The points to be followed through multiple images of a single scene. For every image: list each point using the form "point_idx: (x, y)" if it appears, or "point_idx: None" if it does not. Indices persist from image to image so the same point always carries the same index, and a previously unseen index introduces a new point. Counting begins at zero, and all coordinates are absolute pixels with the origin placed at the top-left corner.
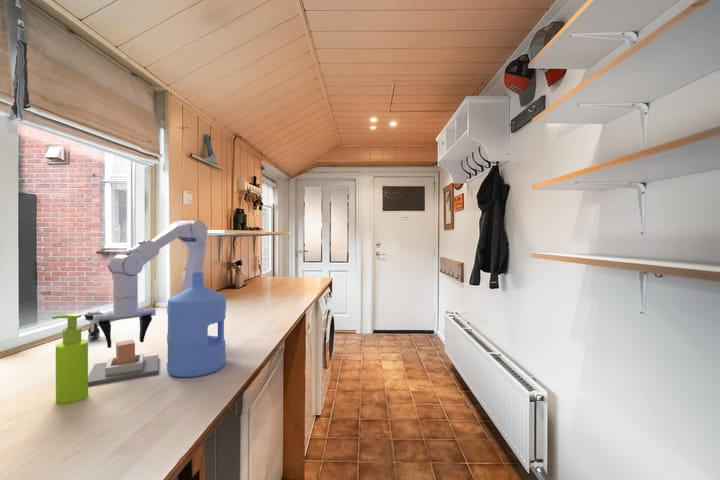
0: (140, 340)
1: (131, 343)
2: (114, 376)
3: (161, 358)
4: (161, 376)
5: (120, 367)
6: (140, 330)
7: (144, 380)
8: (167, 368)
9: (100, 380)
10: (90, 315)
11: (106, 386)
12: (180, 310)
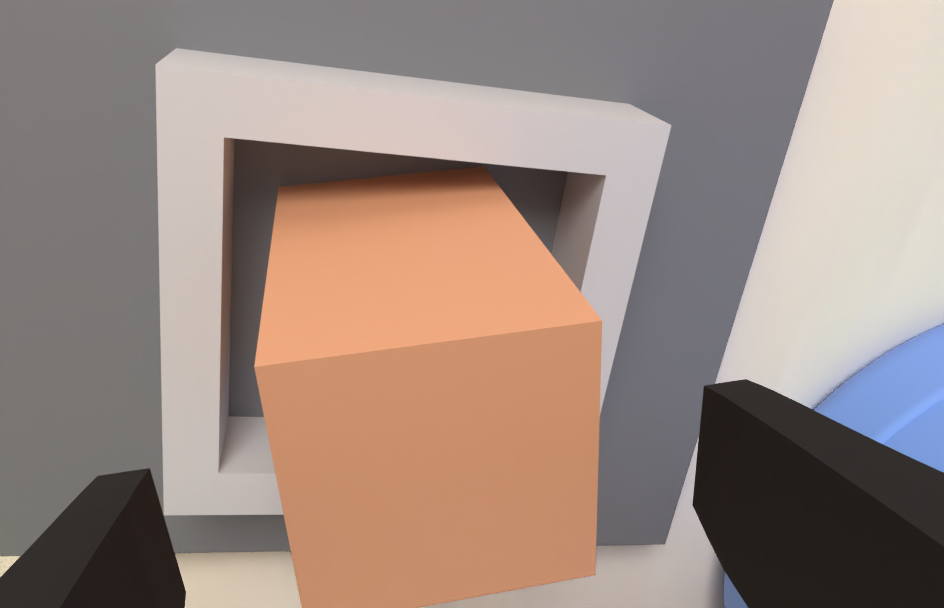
0: (708, 482)
1: (537, 585)
2: (281, 520)
3: (831, 25)
4: (659, 576)
5: None
6: (858, 557)
7: (526, 601)
8: (738, 598)
9: None
10: None
11: (223, 600)
12: None
